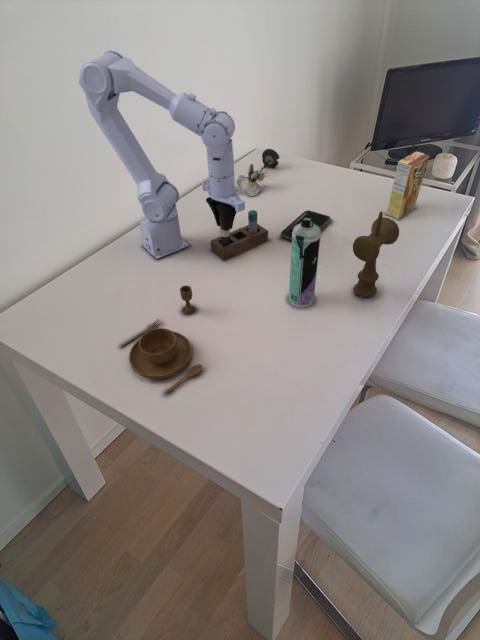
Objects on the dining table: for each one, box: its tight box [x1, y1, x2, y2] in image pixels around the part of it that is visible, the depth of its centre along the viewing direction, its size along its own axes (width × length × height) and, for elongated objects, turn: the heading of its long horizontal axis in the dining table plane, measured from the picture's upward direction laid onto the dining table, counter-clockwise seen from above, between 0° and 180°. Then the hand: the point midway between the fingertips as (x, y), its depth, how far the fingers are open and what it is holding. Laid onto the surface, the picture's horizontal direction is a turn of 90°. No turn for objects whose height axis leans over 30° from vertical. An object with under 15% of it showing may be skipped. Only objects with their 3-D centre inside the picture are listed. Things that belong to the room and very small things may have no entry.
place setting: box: [120, 285, 203, 395], centre depth 83 cm, size 18×20×6 cm
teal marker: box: [247, 209, 258, 234], centre depth 111 cm, size 2×2×8 cm
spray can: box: [288, 217, 322, 309], centre depth 88 cm, size 6×6×20 cm
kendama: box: [352, 211, 400, 299], centre depth 89 cm, size 6×10×20 cm, turn 140°
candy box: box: [386, 151, 430, 220], centre depth 116 cm, size 9×4×15 cm, turn 134°
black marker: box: [219, 213, 231, 245], centre depth 105 cm, size 2×2×8 cm
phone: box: [280, 210, 331, 242], centre depth 116 cm, size 8×1×15 cm
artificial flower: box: [235, 148, 280, 197], centre depth 136 cm, size 9×22×10 cm, turn 152°
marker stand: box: [210, 223, 269, 261], centre depth 110 cm, size 14×6×3 cm, turn 126°
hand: (224, 226), depth 105 cm, fingers closed on black marker, 2 cm apart
